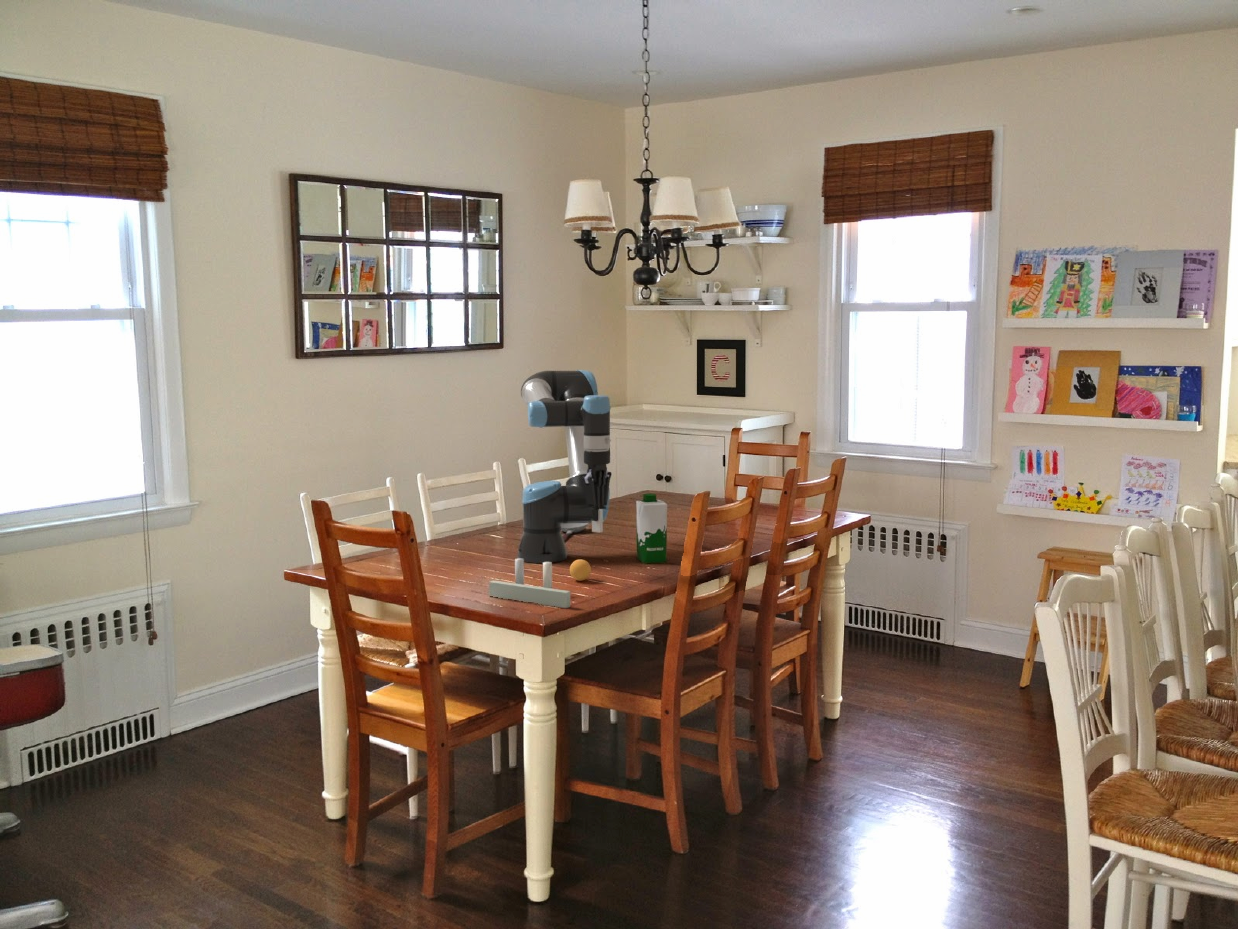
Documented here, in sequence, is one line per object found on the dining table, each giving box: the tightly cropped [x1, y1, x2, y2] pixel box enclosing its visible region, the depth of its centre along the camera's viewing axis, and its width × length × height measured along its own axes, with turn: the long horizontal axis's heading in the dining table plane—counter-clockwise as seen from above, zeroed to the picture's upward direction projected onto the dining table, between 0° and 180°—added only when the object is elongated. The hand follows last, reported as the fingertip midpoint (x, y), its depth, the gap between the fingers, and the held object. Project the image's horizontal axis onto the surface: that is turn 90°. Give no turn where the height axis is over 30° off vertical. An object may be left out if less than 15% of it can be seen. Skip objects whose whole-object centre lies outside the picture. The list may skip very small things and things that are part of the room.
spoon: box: [561, 523, 590, 543], centre depth 368 cm, size 11×33×3 cm, turn 169°
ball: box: [569, 559, 592, 582], centre depth 309 cm, size 6×6×6 cm
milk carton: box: [635, 493, 668, 564], centre depth 332 cm, size 9×9×20 cm
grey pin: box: [514, 557, 525, 585], centre depth 298 cm, size 2×2×8 cm
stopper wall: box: [488, 580, 571, 609], centre depth 286 cm, size 24×2×4 cm, turn 61°
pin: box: [542, 562, 553, 589], centre depth 294 cm, size 2×2×8 cm
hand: (597, 531), depth 315 cm, fingers closed
